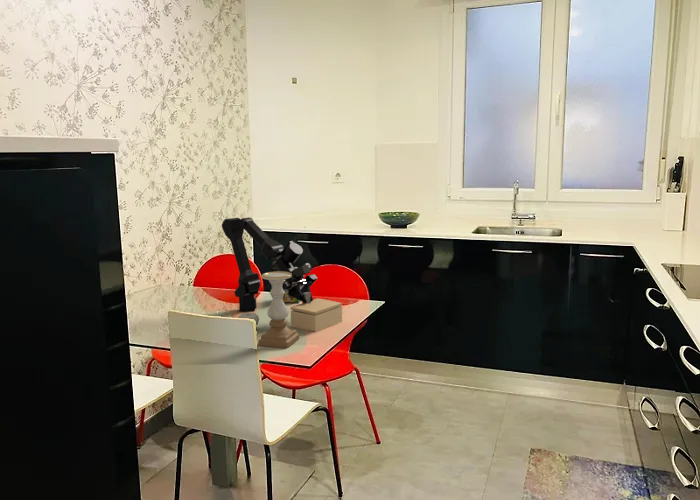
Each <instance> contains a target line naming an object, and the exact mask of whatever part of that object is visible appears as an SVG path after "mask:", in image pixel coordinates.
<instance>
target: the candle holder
mask: <svg viewBox="0 0 700 500" xmlns="http://www.w3.org/2000/svg"><path fill="white" fill-rule="evenodd" d="M260 276H261V278H262V279H263V280H267V281H268V282H269V283H270V285H271V289H270V291H269V295H270V296H271V298H272V301H271V303H270V305H269V307H267V308H268V309H267V312H266V314H267V317H268V318H269V319H270V321H269V326H270V328H268V329H267V331H265V332H264V333H263V334H261V336H260V338H259V339H258V342H257V343H258V346H259V347H265V348H266V347H267V348H279V349H289V348H290V347H291V346H293V344H296V343H297V342H298V341H299V340H300V333H298V332H297V330H296V329H290V328H289V327H287V326H288V321H287V319H286V318H287V317H288V316H289V314H290V313H289V312H290V311H289V308H288V307H287V305H286V304H285V302H283V300H282V298H283V296H284V294H285V291H284V290H283V288H282V285H283V283H284V281H285V279H288V278H290V277H291V276H292V274H291V273H289V272H281V271H268V272H265V273H262V274H261V275H260Z"/></svg>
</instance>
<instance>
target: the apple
mask: <svg viewBox="0 0 700 500" xmlns="http://www.w3.org/2000/svg"><path fill="white" fill-rule="evenodd" d="M237 318H249V319H254V320H255V321H256V325H257V326H258V325H259V321H260V317H259V315H258V313H256V312H244V313H240V314H239V315H238V317H237Z"/></svg>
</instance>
